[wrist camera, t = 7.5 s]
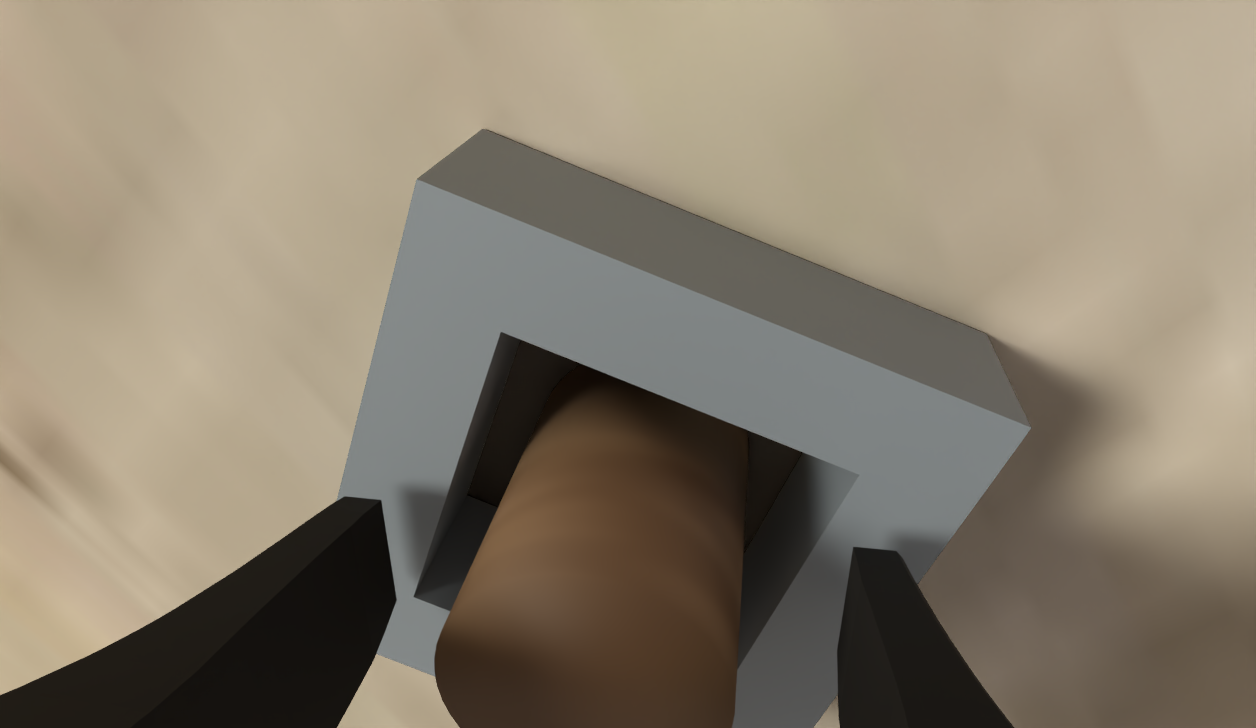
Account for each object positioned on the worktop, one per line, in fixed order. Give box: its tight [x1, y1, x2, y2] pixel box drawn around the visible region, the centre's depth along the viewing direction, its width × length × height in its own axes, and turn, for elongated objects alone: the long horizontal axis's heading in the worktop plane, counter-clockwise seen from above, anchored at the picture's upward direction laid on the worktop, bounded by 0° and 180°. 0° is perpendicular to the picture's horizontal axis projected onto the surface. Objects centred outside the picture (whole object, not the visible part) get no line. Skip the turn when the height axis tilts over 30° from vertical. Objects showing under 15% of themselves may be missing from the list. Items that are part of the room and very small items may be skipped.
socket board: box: [337, 129, 1031, 728], centre depth 15 cm, size 9×9×3 cm
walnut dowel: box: [434, 364, 749, 728], centre depth 14 cm, size 4×4×6 cm
